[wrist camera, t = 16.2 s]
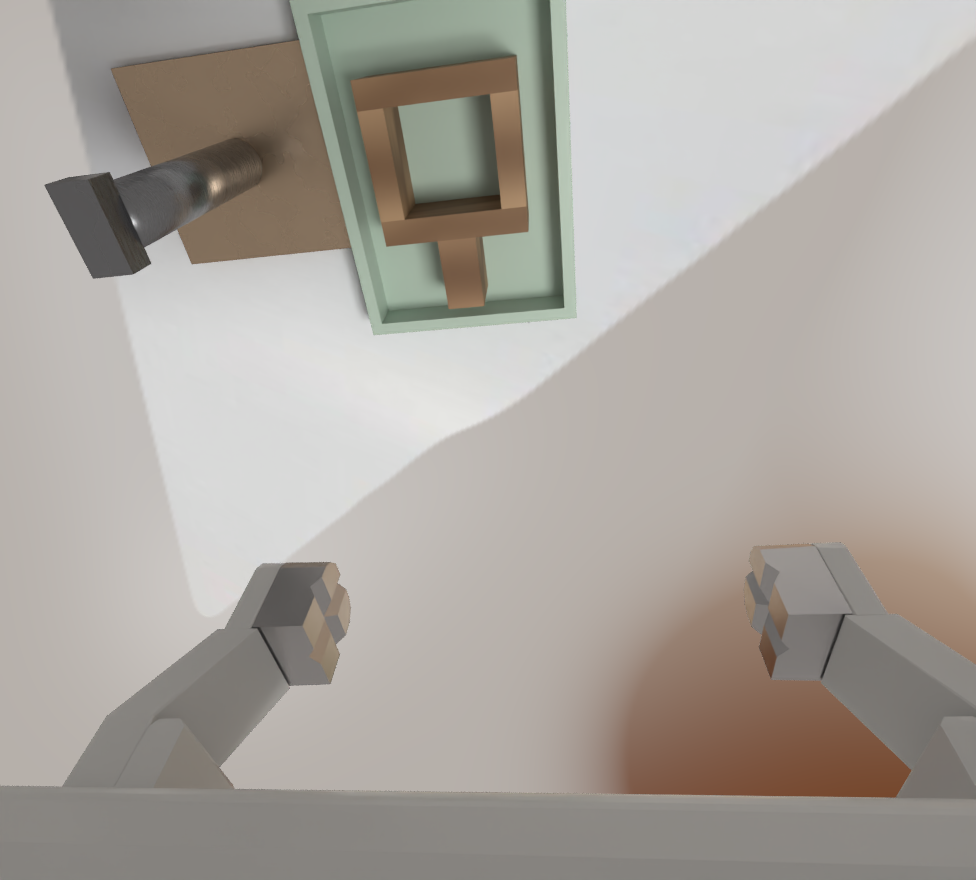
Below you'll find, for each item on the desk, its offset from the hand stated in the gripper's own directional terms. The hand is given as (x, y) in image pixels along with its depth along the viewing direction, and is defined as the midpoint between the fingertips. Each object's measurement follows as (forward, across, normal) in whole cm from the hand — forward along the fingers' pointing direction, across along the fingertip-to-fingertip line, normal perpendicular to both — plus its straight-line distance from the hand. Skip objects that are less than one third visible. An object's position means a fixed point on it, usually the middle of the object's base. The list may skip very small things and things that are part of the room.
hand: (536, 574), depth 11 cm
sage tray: (+33, +5, -2) cm, 34 cm away
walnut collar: (+33, +5, -1) cm, 33 cm away
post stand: (+33, +19, -4) cm, 38 cm away
